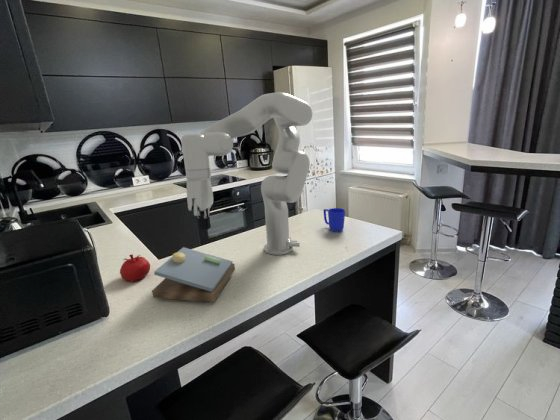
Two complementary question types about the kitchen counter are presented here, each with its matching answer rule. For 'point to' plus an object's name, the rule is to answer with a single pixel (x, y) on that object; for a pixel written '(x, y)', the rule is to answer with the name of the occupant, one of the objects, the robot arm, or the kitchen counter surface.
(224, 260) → the plate
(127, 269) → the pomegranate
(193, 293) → the wooden board
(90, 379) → the kitchen counter surface
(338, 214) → the mug
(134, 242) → the kitchen counter surface
